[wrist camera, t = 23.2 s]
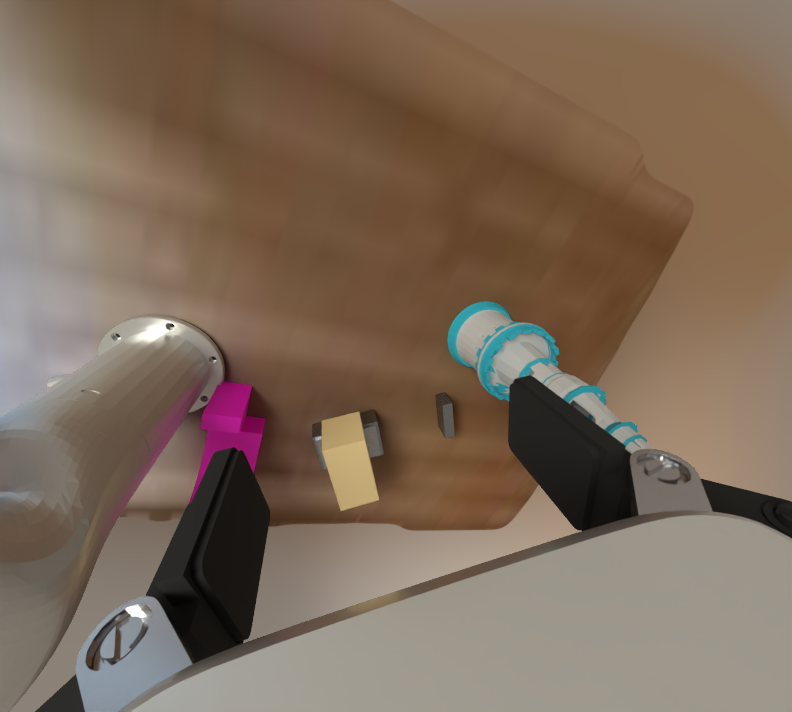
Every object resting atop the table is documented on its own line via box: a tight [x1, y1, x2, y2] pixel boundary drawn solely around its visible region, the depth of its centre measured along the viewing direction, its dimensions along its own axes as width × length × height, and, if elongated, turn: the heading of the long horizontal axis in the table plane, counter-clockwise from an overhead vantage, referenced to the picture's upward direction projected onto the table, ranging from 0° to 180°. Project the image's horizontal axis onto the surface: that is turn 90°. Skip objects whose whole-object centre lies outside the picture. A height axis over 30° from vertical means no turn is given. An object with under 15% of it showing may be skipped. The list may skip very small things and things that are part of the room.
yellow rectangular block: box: [322, 412, 379, 511], centre depth 41 cm, size 5×12×6 cm, turn 9°
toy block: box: [189, 381, 266, 503], centre depth 40 cm, size 15×6×8 cm, turn 161°
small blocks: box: [312, 393, 455, 470], centre depth 46 cm, size 20×6×3 cm, turn 98°
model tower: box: [447, 301, 652, 454], centre depth 32 cm, size 10×10×30 cm
